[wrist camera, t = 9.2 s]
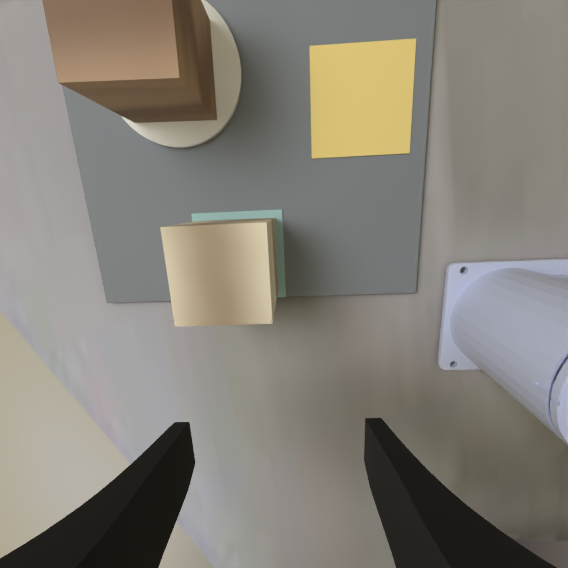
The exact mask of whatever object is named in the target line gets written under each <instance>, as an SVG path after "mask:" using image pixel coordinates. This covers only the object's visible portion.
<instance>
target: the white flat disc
mask: <svg viewBox="0 0 568 568" xmlns="http://www.w3.org/2000/svg"><path fill="white" fill-rule="evenodd" d="M201 1H202V3H203V6H204V8H205V10H206V12H207V15H208V17H209V19H210V28H211V42H212V55H213V69H214V83H215V97H216V111H217V120H205V121H177V122H148V123H134V122H132V121H130V120H128V119H126V118H124V117H123V116H122V118H123V119H124V120H125V122H126V123H127V124H128V125H129V126H130V127H131V128H132V129H134V130H135V131H136V132H137V133H139V134H140V135H142V136H143V137H145V138H147V139H149V140H151V141H153V142H155V143H157V144H160V145H163V146H166V147H171V148H191V147H195V146H199V145H201V144H204V143H206V142H208V141H209V140H211V139H213V138H214V137H215V136H217V135H218V134H219V133H220V132H221V131H222V130H223V129H224V128H225V127H226V126H227V124H228V123H229V121H230V120H231V118H232V116H233V114H234V112H235V110H236V108H237V105H238V102H239V98H240V94H241V87H242V68H241V60H240V56H239V52H238V49H237V46H236V44H235V41H234V38H233V35H232V33H231V31H230V30H229V28H228V26H227V24H226V23H225V21H224V20H223V18H222V17H221V15H220V14H219V13H218V12H217V11H216V10H215V8H213V7H212V6H211V5H210V4H209V3H208V2H207V1H205V0H201Z"/></svg>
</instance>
